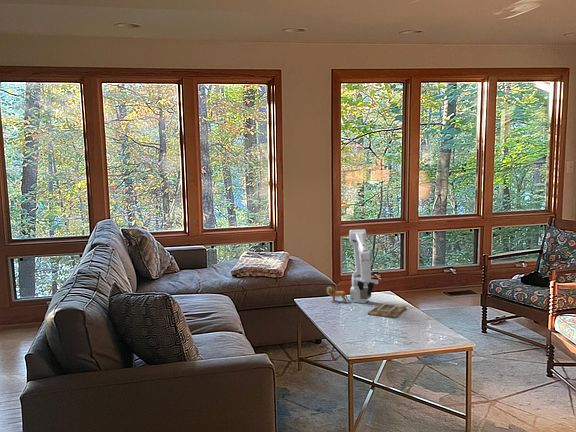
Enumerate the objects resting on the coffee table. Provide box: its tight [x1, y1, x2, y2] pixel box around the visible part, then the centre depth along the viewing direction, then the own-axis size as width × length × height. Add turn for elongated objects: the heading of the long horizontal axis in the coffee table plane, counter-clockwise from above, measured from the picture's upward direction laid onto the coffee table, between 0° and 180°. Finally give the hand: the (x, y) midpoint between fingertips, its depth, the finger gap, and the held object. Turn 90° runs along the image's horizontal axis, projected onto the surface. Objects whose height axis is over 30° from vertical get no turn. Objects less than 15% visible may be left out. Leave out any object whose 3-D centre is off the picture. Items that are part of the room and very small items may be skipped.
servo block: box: [360, 286, 372, 299], centre depth 330 cm, size 4×9×6 cm, turn 151°
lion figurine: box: [325, 286, 351, 304], centre depth 348 cm, size 15×5×9 cm, turn 71°
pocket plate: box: [367, 303, 407, 319], centre depth 325 cm, size 16×20×2 cm
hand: (365, 294), depth 330 cm, fingers closed on servo block, 4 cm apart
